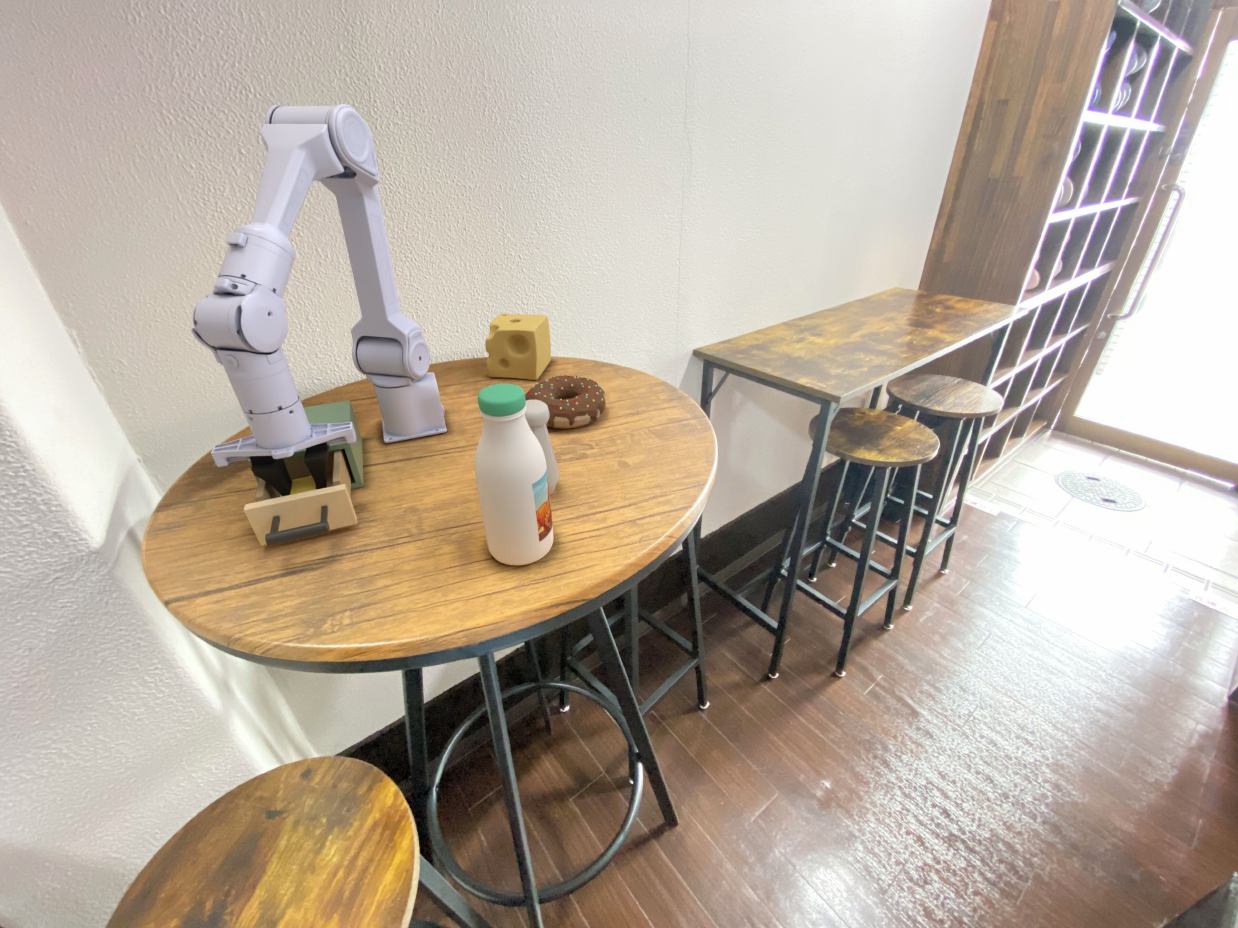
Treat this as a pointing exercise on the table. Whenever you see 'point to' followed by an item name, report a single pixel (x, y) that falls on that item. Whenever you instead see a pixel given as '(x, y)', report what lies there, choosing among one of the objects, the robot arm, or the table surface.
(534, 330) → the cheese
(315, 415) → the cabinet
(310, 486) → the yellow knobbed cube
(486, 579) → the table surface
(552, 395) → the donut
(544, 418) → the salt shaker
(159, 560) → the table surface
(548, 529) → the milk bottle
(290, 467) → the drawer
